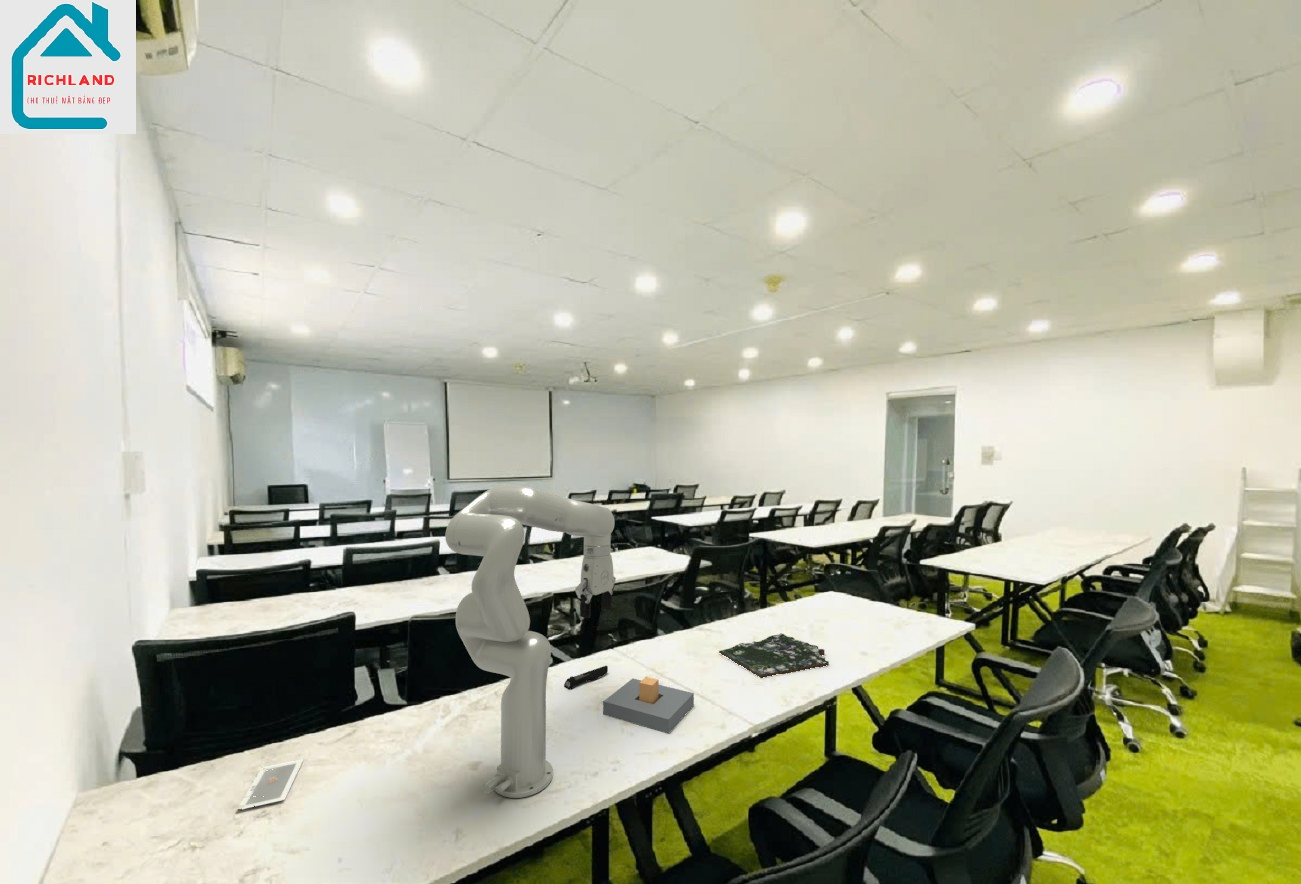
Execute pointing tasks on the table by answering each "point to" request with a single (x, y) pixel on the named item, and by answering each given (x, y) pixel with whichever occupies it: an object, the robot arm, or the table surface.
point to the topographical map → (776, 655)
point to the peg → (649, 690)
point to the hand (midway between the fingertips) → (596, 613)
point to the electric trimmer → (585, 677)
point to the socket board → (649, 706)
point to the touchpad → (272, 784)
